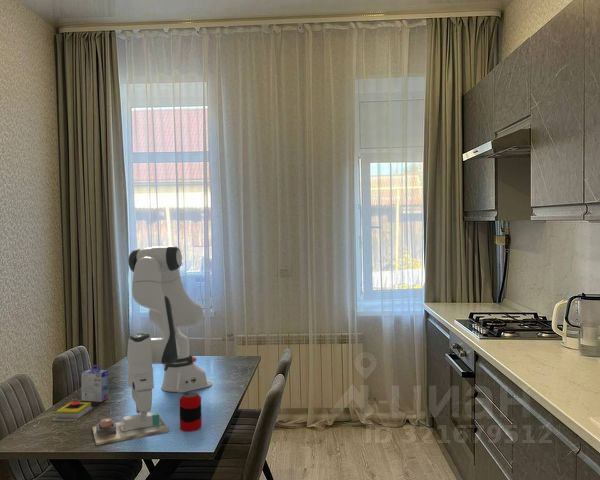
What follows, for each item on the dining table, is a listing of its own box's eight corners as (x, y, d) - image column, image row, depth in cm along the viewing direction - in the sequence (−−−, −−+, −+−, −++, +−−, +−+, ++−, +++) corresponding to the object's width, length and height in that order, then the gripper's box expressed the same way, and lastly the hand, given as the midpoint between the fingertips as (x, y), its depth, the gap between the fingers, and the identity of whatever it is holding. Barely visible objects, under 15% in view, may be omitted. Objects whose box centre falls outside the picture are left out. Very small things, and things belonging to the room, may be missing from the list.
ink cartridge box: (109, 398, 220) (108, 364, 219) (102, 402, 214) (101, 368, 214) (89, 396, 222) (88, 363, 221) (81, 401, 216) (80, 367, 216)
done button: (111, 426, 182) (111, 417, 182) (112, 429, 179) (112, 421, 179) (99, 428, 180) (99, 419, 180) (100, 432, 177) (100, 423, 177)
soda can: (190, 422, 190) (189, 390, 190) (205, 426, 186) (205, 393, 186) (175, 429, 184) (175, 396, 183) (191, 433, 180) (190, 399, 180)
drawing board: (159, 417, 196) (159, 408, 196) (168, 431, 181) (168, 422, 181) (92, 429, 185) (92, 420, 185) (96, 445, 171) (96, 435, 170)
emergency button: (94, 398, 208) (74, 410, 193) (94, 408, 208) (74, 422, 193) (72, 397, 209) (51, 410, 194) (72, 408, 209) (51, 421, 194)
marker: (123, 426, 184) (123, 416, 184) (157, 420, 189) (157, 411, 189) (124, 430, 181) (124, 420, 181) (159, 424, 186) (159, 414, 186)
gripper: (127, 373, 192) (128, 409, 193) (135, 387, 174) (136, 428, 174) (144, 371, 195) (145, 406, 196) (154, 385, 177) (155, 424, 177)
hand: (141, 417), depth 185 cm, fingers open, 8 cm apart
